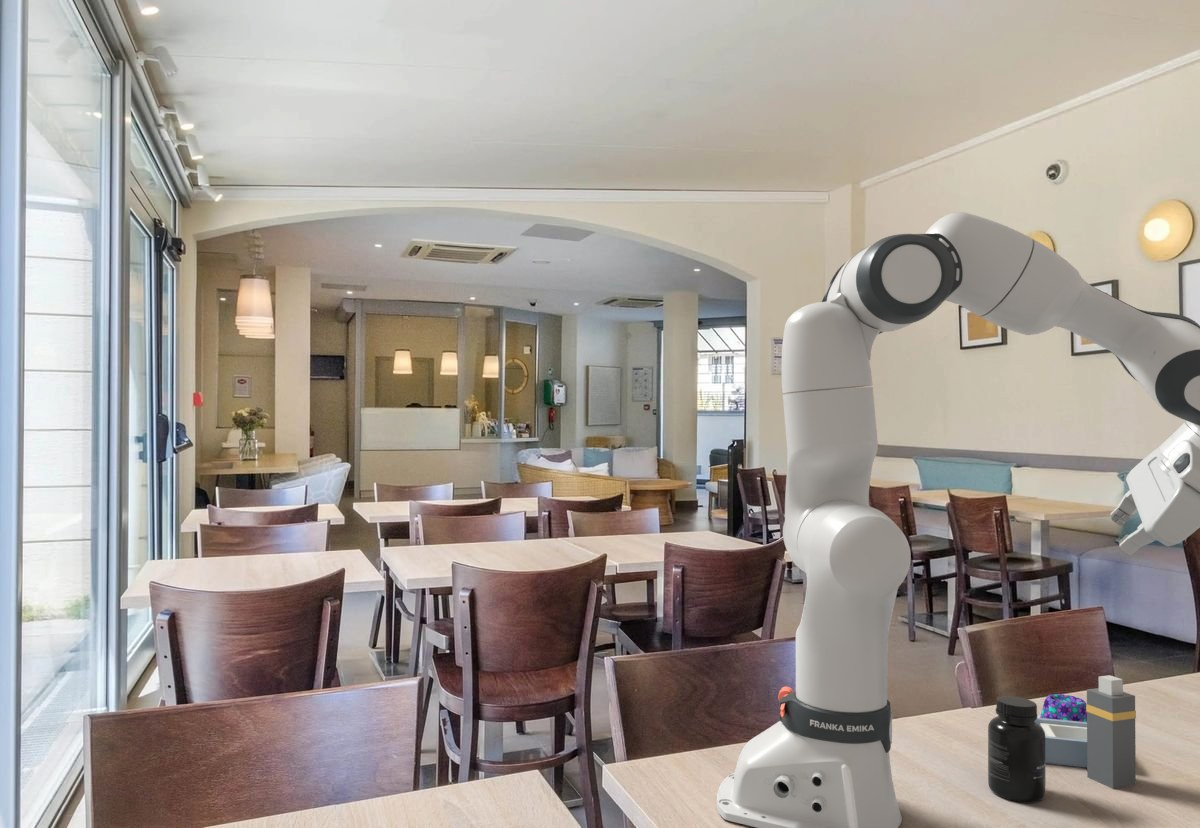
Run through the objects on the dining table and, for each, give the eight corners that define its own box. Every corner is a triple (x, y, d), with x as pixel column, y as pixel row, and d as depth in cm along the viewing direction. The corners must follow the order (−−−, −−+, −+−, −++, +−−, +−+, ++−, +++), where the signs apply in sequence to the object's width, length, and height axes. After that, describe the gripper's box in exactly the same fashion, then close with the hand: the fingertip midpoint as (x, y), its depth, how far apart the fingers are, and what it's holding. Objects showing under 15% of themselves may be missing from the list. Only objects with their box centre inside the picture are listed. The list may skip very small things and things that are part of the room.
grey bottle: (1113, 789, 112) (1112, 683, 112) (1086, 776, 116) (1086, 675, 116) (1136, 785, 113) (1135, 680, 113) (1109, 773, 117) (1108, 672, 117)
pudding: (1007, 725, 137) (1007, 692, 137) (1058, 715, 142) (1058, 683, 142) (1074, 751, 126) (1074, 715, 126) (1127, 739, 131) (1127, 705, 131)
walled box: (1009, 759, 122) (1009, 734, 122) (999, 737, 130) (999, 714, 130) (1119, 771, 118) (1119, 745, 118) (1101, 747, 126) (1101, 723, 126)
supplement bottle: (1053, 806, 107) (1052, 711, 107) (995, 801, 108) (995, 708, 108) (1036, 784, 113) (1036, 694, 113) (982, 779, 115) (982, 691, 115)
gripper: (1163, 422, 118) (1091, 492, 124) (1192, 473, 100) (1106, 551, 106) (1204, 449, 116) (1129, 518, 123) (1241, 505, 99) (1151, 583, 105)
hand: (1119, 534), depth 114 cm, fingers open, 8 cm apart
